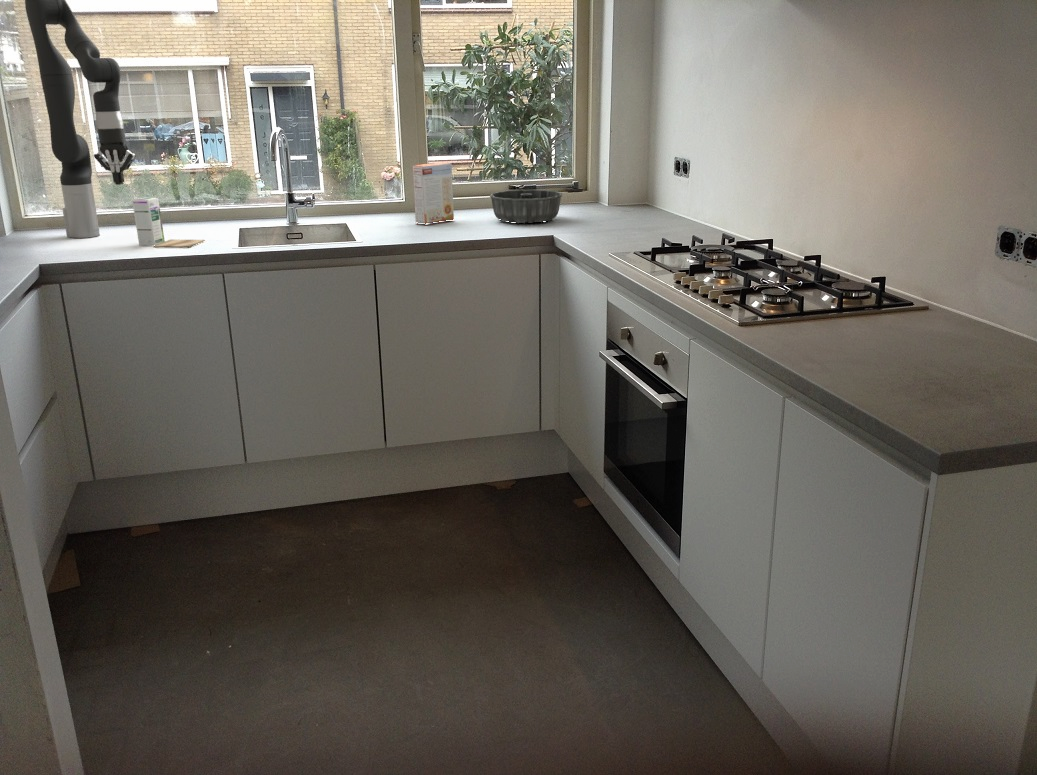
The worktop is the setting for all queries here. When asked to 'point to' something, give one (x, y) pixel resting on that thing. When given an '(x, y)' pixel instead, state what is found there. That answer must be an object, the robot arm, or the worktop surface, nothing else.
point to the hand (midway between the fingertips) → (119, 184)
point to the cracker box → (433, 192)
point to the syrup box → (148, 221)
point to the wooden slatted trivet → (179, 243)
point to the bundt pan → (526, 205)
